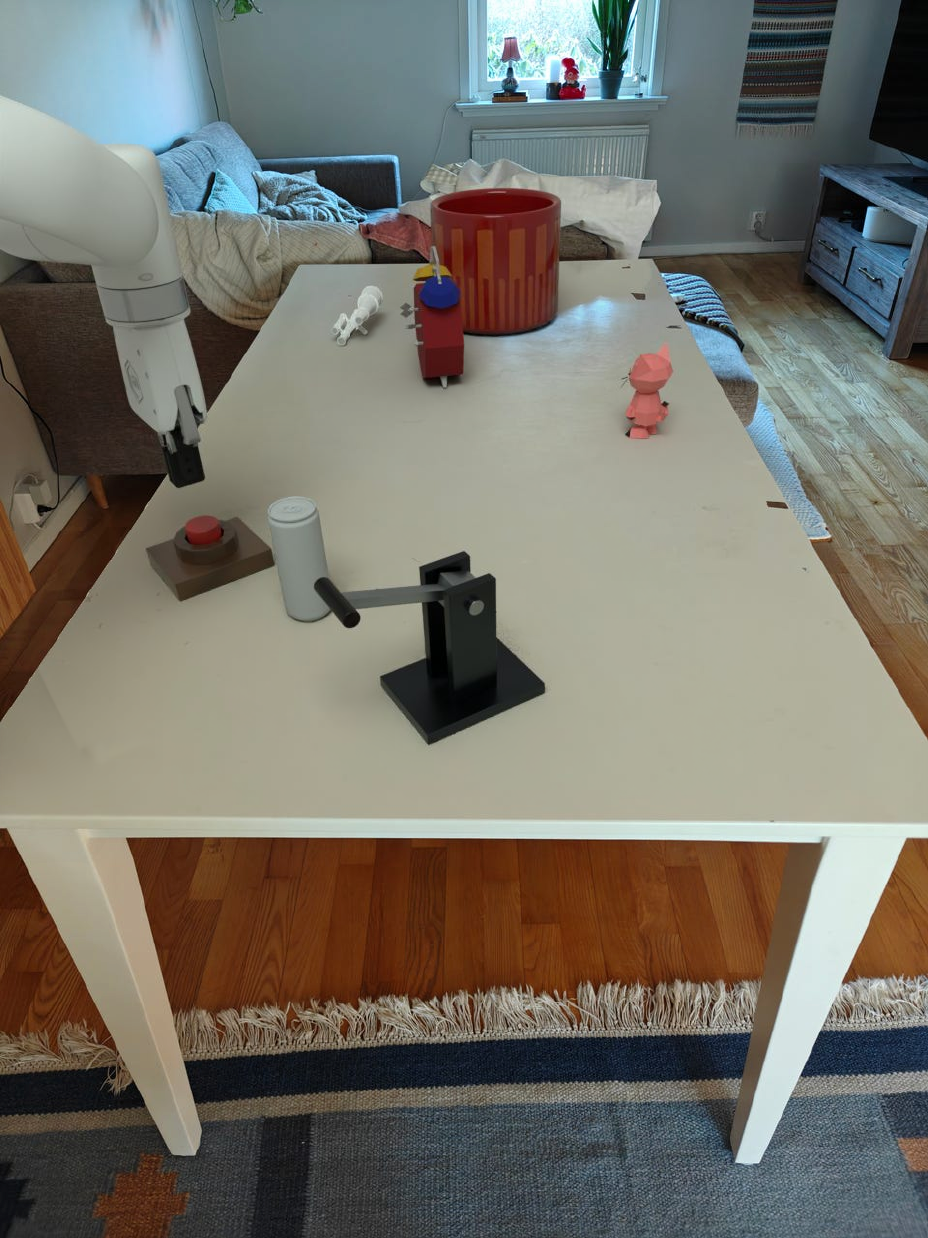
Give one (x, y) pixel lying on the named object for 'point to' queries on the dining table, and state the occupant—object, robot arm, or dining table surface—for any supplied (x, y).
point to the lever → (383, 596)
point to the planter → (500, 256)
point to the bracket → (460, 660)
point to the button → (203, 530)
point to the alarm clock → (437, 322)
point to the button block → (209, 559)
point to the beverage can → (299, 555)
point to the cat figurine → (648, 392)
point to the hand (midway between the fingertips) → (188, 481)
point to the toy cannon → (359, 313)
